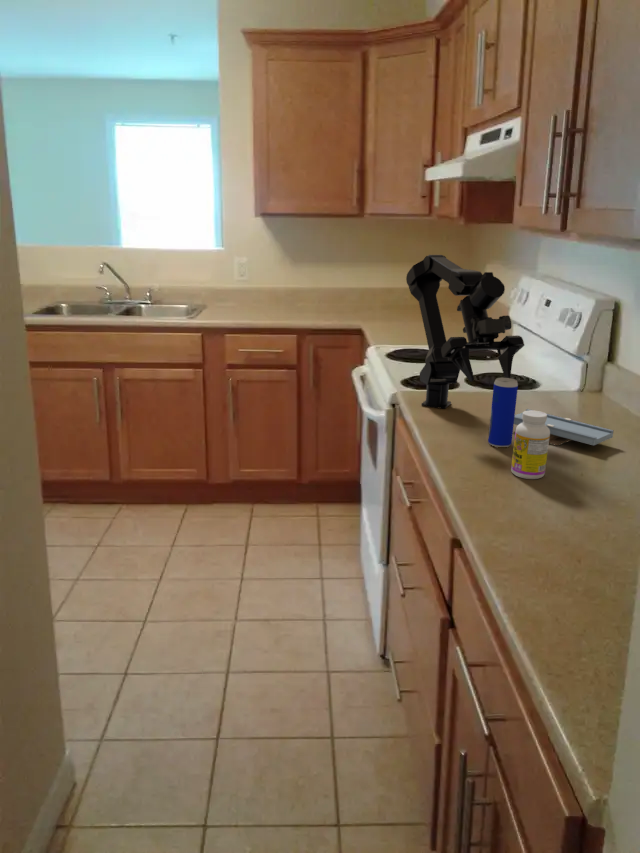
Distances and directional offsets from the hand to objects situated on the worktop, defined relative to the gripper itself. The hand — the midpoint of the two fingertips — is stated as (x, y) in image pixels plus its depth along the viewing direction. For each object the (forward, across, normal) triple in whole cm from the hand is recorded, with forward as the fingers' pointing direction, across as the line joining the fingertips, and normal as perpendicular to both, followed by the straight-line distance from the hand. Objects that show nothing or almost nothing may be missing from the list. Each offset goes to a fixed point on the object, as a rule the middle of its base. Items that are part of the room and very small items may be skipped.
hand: (490, 380), depth 171 cm
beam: (+12, +16, +3) cm, 20 cm away
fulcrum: (+13, +16, +4) cm, 22 cm away
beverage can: (+15, 0, +3) cm, 15 cm away
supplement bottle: (+26, -4, -11) cm, 28 cm away
